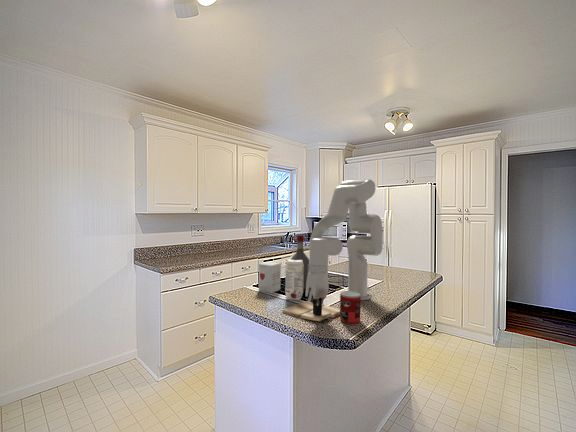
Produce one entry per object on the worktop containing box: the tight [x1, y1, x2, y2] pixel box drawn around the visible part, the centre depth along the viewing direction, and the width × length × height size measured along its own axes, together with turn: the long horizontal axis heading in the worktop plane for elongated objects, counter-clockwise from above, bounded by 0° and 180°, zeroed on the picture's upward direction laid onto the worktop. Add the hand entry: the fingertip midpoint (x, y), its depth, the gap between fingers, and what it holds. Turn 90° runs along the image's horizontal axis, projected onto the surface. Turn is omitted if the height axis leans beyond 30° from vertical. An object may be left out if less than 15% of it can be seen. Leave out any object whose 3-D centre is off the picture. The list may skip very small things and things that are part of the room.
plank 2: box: [322, 304, 340, 319], centre depth 125 cm, size 8×10×1 cm
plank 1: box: [300, 310, 332, 322], centre depth 118 cm, size 8×10×1 cm
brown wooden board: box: [282, 300, 325, 319], centre depth 128 cm, size 18×9×1 cm, turn 137°
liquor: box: [290, 234, 310, 291], centre depth 164 cm, size 9×9×30 cm
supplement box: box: [258, 261, 282, 294], centre depth 159 cm, size 9×9×15 cm
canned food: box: [339, 290, 362, 325], centre depth 116 cm, size 8×8×11 cm
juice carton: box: [284, 258, 304, 301], centre depth 145 cm, size 8×9×19 cm
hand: (317, 314), depth 117 cm, fingers closed
